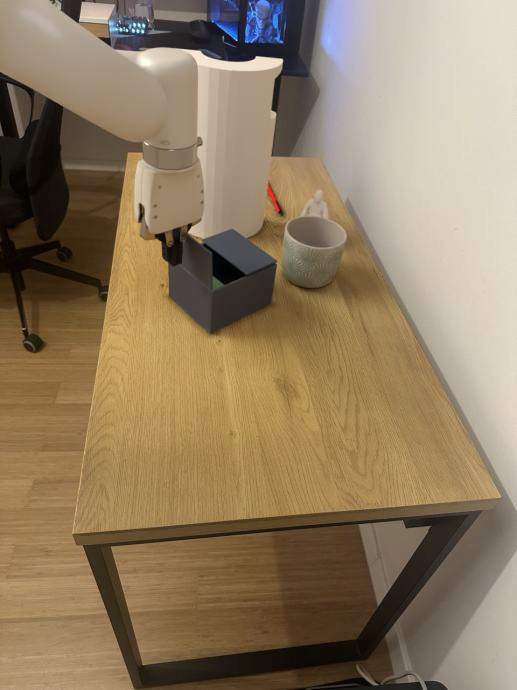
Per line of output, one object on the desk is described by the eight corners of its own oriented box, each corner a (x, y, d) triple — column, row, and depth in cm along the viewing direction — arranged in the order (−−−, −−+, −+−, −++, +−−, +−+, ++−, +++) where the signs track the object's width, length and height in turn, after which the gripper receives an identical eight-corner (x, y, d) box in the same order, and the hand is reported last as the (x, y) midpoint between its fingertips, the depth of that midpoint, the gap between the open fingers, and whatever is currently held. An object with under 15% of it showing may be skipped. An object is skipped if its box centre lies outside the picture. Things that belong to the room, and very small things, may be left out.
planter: (343, 293, 103) (355, 248, 95) (284, 295, 100) (293, 249, 93) (326, 258, 112) (337, 215, 104) (272, 259, 109) (279, 215, 102)
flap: (213, 288, 83) (211, 289, 83) (168, 251, 89) (166, 252, 89) (212, 252, 78) (210, 253, 78) (165, 216, 84) (163, 216, 84)
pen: (279, 216, 123) (280, 212, 122) (262, 180, 136) (262, 176, 136) (283, 216, 123) (283, 212, 123) (265, 180, 136) (265, 176, 136)
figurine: (326, 237, 118) (337, 190, 110) (323, 255, 112) (334, 207, 104) (295, 231, 119) (303, 184, 110) (290, 249, 113) (299, 200, 105)
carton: (210, 334, 90) (212, 289, 83) (168, 296, 96) (167, 251, 89) (271, 304, 98) (277, 260, 91) (229, 271, 104) (232, 228, 97)
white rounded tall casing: (175, 212, 119) (262, 218, 122) (172, 238, 111) (266, 243, 113) (173, 47, 95) (282, 57, 97) (169, 64, 87) (288, 75, 89)
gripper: (197, 132, 75) (195, 237, 88) (107, 152, 67) (120, 264, 80) (228, 151, 72) (222, 258, 84) (137, 174, 64) (145, 288, 76)
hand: (172, 261), depth 82 cm, fingers closed
